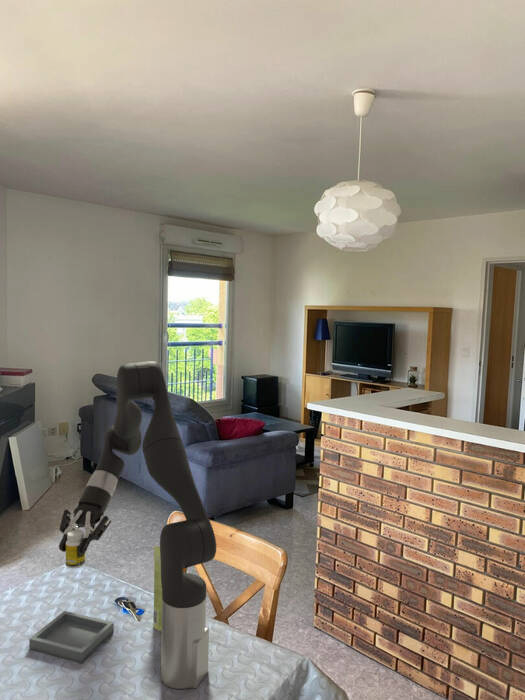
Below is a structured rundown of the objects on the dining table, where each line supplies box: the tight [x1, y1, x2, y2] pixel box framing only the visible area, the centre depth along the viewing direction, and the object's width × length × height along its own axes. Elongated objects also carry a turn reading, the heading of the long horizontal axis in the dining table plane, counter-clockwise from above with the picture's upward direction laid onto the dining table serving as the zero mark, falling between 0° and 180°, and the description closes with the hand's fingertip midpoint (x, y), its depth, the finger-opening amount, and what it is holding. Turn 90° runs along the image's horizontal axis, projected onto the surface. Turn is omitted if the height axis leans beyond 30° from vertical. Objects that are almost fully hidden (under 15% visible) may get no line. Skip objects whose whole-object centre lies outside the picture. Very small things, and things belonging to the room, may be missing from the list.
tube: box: [152, 545, 162, 632], centre depth 129 cm, size 6×5×20 cm
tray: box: [28, 610, 115, 664], centre depth 123 cm, size 14×12×2 cm
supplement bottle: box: [65, 529, 86, 569], centre depth 137 cm, size 5×5×8 cm
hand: (70, 552), depth 135 cm, fingers closed on supplement bottle, 4 cm apart
